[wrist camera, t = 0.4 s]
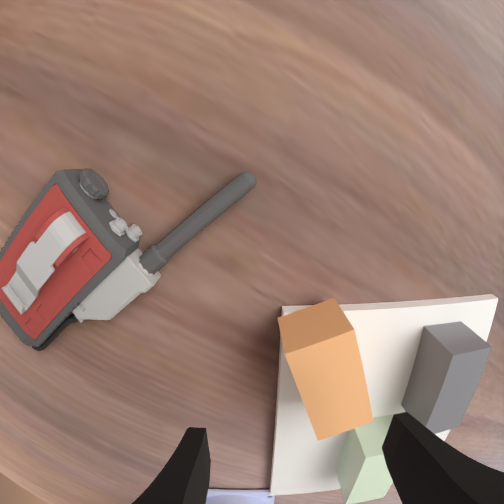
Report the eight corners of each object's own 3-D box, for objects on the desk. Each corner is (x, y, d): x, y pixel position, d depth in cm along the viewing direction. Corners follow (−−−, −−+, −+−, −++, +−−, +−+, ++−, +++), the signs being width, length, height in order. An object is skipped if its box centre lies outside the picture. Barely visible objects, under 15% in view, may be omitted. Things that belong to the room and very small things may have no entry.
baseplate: (425, 462, 25) (428, 468, 24) (269, 487, 24) (270, 495, 23) (491, 293, 20) (498, 298, 19) (281, 305, 19) (283, 312, 18)
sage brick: (372, 465, 23) (383, 497, 19) (336, 471, 23) (345, 505, 19) (392, 414, 21) (410, 448, 17) (351, 420, 21) (365, 457, 17)
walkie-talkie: (64, 361, 21) (265, 189, 18) (38, 393, 17) (271, 195, 14) (-4, 277, 19) (171, 77, 16) (-38, 297, 15) (150, 53, 12)
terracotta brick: (355, 383, 20) (373, 421, 16) (307, 400, 20) (317, 440, 16) (334, 297, 18) (354, 329, 14) (277, 317, 18) (284, 354, 15)
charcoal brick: (436, 396, 21) (458, 426, 17) (401, 404, 21) (420, 437, 17) (461, 321, 19) (491, 346, 15) (423, 326, 19) (453, 355, 15)
